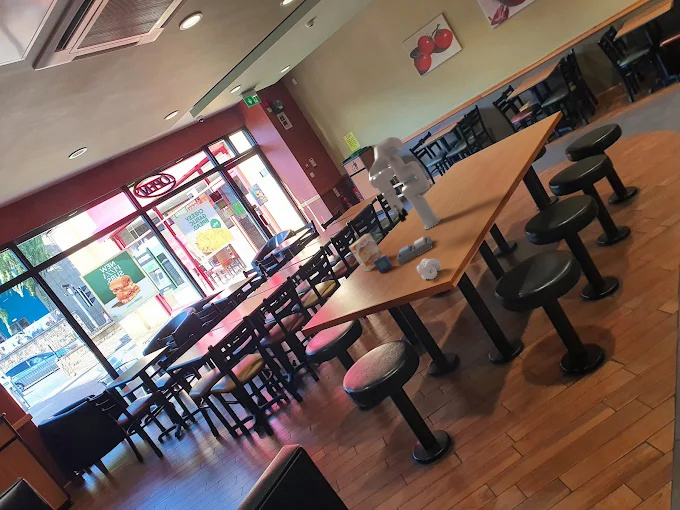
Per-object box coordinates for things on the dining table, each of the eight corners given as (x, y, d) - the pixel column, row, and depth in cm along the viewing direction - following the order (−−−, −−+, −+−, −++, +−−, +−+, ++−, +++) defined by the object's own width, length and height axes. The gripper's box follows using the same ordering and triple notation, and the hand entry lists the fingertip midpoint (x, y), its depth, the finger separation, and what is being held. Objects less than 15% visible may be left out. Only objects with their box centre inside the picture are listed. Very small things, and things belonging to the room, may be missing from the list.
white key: (416, 245, 302) (414, 241, 302) (425, 240, 300) (423, 236, 300) (416, 249, 297) (413, 244, 296) (425, 244, 295) (422, 239, 294)
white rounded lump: (439, 279, 243) (429, 263, 241) (419, 287, 250) (409, 272, 248) (446, 267, 251) (436, 252, 250) (426, 275, 259) (416, 260, 257)
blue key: (402, 253, 306) (399, 249, 305) (411, 248, 304) (408, 244, 303) (401, 257, 300) (398, 253, 300) (410, 252, 298) (407, 248, 297)
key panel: (401, 257, 310) (398, 252, 309) (432, 241, 303) (428, 235, 302) (400, 265, 299) (396, 259, 298) (431, 248, 292) (428, 242, 291)
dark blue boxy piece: (394, 265, 305) (384, 251, 303) (393, 267, 303) (383, 253, 301) (381, 272, 309) (371, 258, 307) (380, 274, 306) (370, 260, 304)
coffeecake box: (369, 271, 326) (352, 246, 322) (364, 271, 333) (347, 247, 329) (386, 257, 331) (369, 232, 327) (380, 258, 338) (364, 233, 334)
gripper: (386, 192, 300) (401, 217, 303) (381, 200, 284) (397, 226, 287) (396, 186, 297) (412, 211, 300) (392, 193, 281) (409, 219, 284)
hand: (405, 218), depth 294 cm, fingers open, 9 cm apart
